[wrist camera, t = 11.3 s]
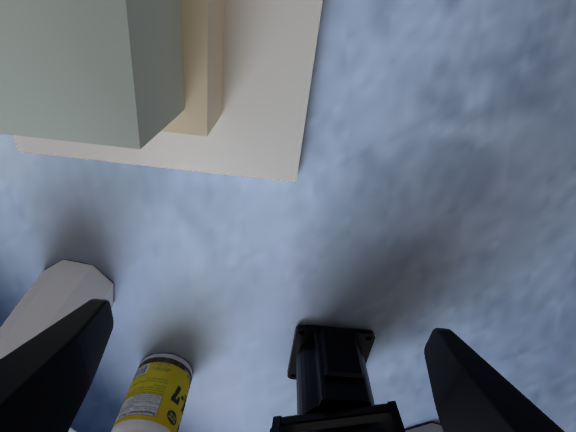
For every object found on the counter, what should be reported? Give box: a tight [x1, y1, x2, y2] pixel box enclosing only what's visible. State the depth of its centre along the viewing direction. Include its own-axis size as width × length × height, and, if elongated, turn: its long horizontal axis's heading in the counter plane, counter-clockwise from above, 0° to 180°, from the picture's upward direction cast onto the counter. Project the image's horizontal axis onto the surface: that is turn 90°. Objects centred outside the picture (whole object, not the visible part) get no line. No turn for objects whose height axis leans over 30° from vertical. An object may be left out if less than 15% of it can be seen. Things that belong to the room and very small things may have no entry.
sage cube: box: [0, 0, 184, 149], centre depth 11 cm, size 5×5×5 cm
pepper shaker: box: [0, 260, 113, 359], centre depth 21 cm, size 5×5×11 cm
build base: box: [13, 0, 323, 182], centre depth 15 cm, size 14×16×5 cm
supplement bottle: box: [111, 353, 193, 432], centre depth 27 cm, size 5×5×8 cm
